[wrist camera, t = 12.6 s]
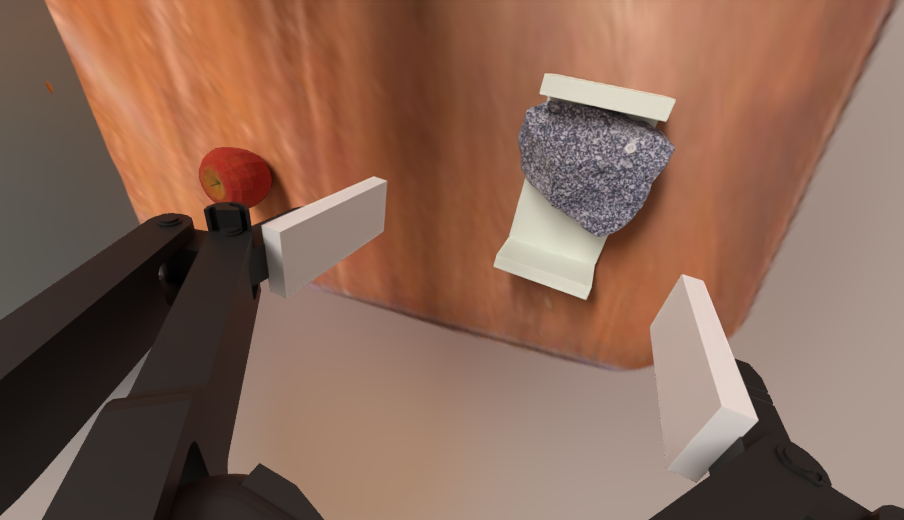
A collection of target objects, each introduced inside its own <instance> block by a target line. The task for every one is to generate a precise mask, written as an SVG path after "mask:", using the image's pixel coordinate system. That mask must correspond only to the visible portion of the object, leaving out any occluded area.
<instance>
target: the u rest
mask: <svg viewBox="0 0 904 520" xmlns="http://www.w3.org/2000/svg"><path fill="white" fill-rule="evenodd" d="M540 94H542V95H546V96H548V98H547V101H563V102H565V103H568V104H573V105H578V106H584V105H589V106H597V107H601V108H606V109H610V110H614V111H619V112H620V113H623V114H625V115H626V116H628V117H629V118H631V119H632V120H635V121H641V120H642V121H645V122H648V123H649V124H650V125H651V126H653V127H654V128H655V127H656V125H657V122H658V120H661V121H665V122H666V121H667V119H668V116H669V114H670V112H671V110H672V108H673V105H674V103H675V101H676V100H675V99H673V98H670V97H668V96H664V95H659V94H654V93H649V92H644V91H639V90H634V89H629V88H624V87H619V86H614V85H609V84H604V83H599V82H594V81H589V80H584V79H579V78H574V77H569V76H564V75H559V74H547V73H545V75H544V79H543V82H542V86H541V90H540ZM607 237H608V236H603V237H597V236H595V235H593V234H591V233H590V232H588V231H587V230H585V229H583V228H582V226H581V225H580V224H579V223H578V222H576V221H575V220H573V219H572V218H570V217H568V216H567V215H565V214H564V213H563V212H561V211H560V210H559V209H556V208H554V207H552V206H551V205H550V203H549V202H548V200H547V199H545V197H544V196H543V195H542V194H541V192H540V191H539V190H538V189H536V188H535V187H534V186H532V185H531V184H530V183H529V182H528V180H527V179H526V177H525V181H524V185H523V188H522V192H521V195H520V199H519V203H518V206H517V210H516V213H515V217H514V221H513V224H512V228H511V231H510V235H509V238H508V239H507V241H506V242H505V243H504V245H503V246H502V248H501V249H500V251H499V252H498V253H497V255H496V259H495V263H494V267H496V268H498V269H501V270H504V271H507V272H510V273H512V274H515V275H518V276H521V277H523V278H526V279H529V280H532V281H535V282H537V283H540V284H543V285H546V286H549V287H551V288H554V289H557V290H560V291H562V292H565V293H568V294H571V295H574V296H576V297H579V298H582V299H585V300H586V299H587V297H588V294H589V292H590V290H591V288H592V281H593V274H594V267H595V264H596V262H597V259H598V257H599V255H600V253H601V250H602V248H603V246H604V243H605V241H606V239H607Z"/></svg>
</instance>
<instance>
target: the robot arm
mask: <svg viewBox="0 0 904 520" xmlns="http://www.w3.org/2000/svg"><path fill="white" fill-rule="evenodd" d="M386 192H387V180H383V179H380V178H377V177H374V176H373V177H371V178H369V179H366V180H364V181H362V182H359V183H357V184H355V185H353V186H350V187H348V188H346V189H343V190H341V191H339V192H336V193H334V194H332V195H330V196H327V197H325V198H323V199H320V200H318V201H316V202H313V203H311V204H309V205H306V206H302V207H297V208H293V209H291V210H288V211H286V212H284V214H283V213H281V214H279V215H277V216H276V217H272V218H270V219H267V220H265V221H262V222H260V223H258V224H255V225H253V226H251V220H250V213H249V207H248V206H246V205H245V204H242V203H238V202H220V203H215V204H212V205H209V206H207V207H206V208H205V209H204V213H205V218H206V222H207V227H208V231H203V230H197V229H194V225H193V221H192V218H191V217H189V216H188V215H183V214H174V213H168V214H162V215H159V216H155V217H153V218H151V219H149V220H147V221H146V222H144V223H143V224H141V225H140V226H138V227H137V228H135V229H134V230H132V231H131V232H129V233H128V234H127V235H125V236H124V237H122V238H121V239H119V240H118V241H116V242H115V243H113V244H112V245H111V246H109V247H107V248H106V249H104V250H103V251H101V252H100V253H99V254H97V255H96V256H94V257H93V258H91V259H90V260H88V261H87V262H85V263H84V264H82V265H81V266H80V267H78V268H77V269H75V270H73V271H72V272H70V273H69V274H68V275H66V276H65V277H63V278H62V279H60V280H59V281H57V282H56V283H54V284H53V285H51V286H50V287H48V288H47V289H45V290H44V291H43V292H41V293H40V294H38V295H37V296H35V297H34V298H32V299H31V300H29V301H28V302H26V303H25V304H23V305H22V306H20V307H19V308H17V309H16V310H15V311H13V312H12V313H10V314H9V315H7V316H6V317H4V318H3V319H1V320H0V515H2V514H3V513H4V512H5V511H6V510H7V509H8V508H9V507H10V506H11V505H12V504H13V503H14V502H15V501H16V500H17V499H19V498H20V496H21V495H22V494H23V493H24V492H25V491H26V490H27V489H28V488H29V487H30V486H31V485H32V484H33V483H34V481H35V480H36V479H37V478H38V477H39V476H40V475H41V474H42V473H43V472H44V471H45V469H46V468H47V467H48V466H49V464H51V462H52V461H53V460H54V459H55V458H56V457H57V455H58V454H59V453H60V452H61V451H62V450H63V449H64V447H65V446H66V445H67V444H68V443H69V442H70V441H71V439H72V438H73V437H74V436H75V435H76V434H77V432H78V431H79V430H80V429H81V428H82V427H83V426H84V424H85V423H86V422H87V421H88V420H89V419H90V417H91V416H92V415H93V414H94V413H95V412H96V410H97V409H98V408H99V407H100V406H101V405H102V403H103V402H104V401H105V400H106V399H107V398H108V397H109V396H110V394H111V393H112V392H113V391H114V390H115V389H116V387H117V386H118V385H119V384H120V383H121V382H122V381H123V379H124V378H125V377H126V376H127V375H128V374H129V372H130V371H131V370H132V369H133V367H135V365H136V364H137V363H138V362H139V361H140V360H141V358H142V357H143V356H144V355H145V354H146V353H147V352H148V351H149V349H150V348H151V347H152V348H151V350H150V352H149V354H148V356H147V358H146V360H145V362H144V365H143V366H142V368H141V371H140V373H139V375H138V377H137V379H136V381H135V383H134V385H133V387H132V389H131V391H130V393H129V394H128V396H127V397H126V398H119V399H113V400H111V401H110V402H108V403H106V405H105V406H104V407H103V409H102V410H101V412H100V413H99V415H98V417H97V419H96V421H95V423H94V424H93V426H92V428H91V430H90V432H89V433H88V435H87V437H86V439H85V441H84V443H83V444H82V446H81V448H80V450H79V452H78V454H77V456H76V457H75V459H74V461H73V463H72V465H71V467H70V469H69V470H68V472H67V474H66V476H65V478H64V480H63V482H62V483H61V485H60V487H59V489H58V491H57V493H56V495H55V496H54V498H53V500H52V502H51V504H50V506H49V508H48V509H47V511H46V513H45V515H44V517H43V518H42V520H324V519H323V518H322V517H321V515H320V514H319V513H318V512H317V510H316V509H315V508H314V507H313V505H312V504H311V503H310V502H309V501H308V499H307V498H306V497H305V496H304V494H303V493H302V492H301V491H300V489H299V488H298V487H297V486H296V485H295V484H293V483H292V482H290V481H288V480H286V479H285V478H283V477H282V476H280V475H278V474H277V473H275V472H273V471H272V470H270V469H269V468H267V467H265V466H264V465H262V464H260V463H259V464H258V465H257V466H256V468H255V469H254V470H253V471H252V472H251V473H250V474H249V475H246V474H228V468H227V467H228V466H227V465H228V455H229V450H230V444H231V440H232V435H233V429H234V424H235V419H236V414H237V409H238V404H239V399H240V394H241V389H242V383H243V379H244V374H245V369H246V364H247V359H248V354H249V349H250V344H251V338H252V333H253V328H254V324H255V319H256V313H257V309H258V303H259V298H260V293H261V287H260V282H262V281H264V280H266V279H267V278H268V280H269V287H270V291H271V292H273V293H275V294H278V295H280V296H282V297H284V298H288V297H289V296H291V295H292V294H293V293H295V292H296V291H298V290H299V289H301V288H302V287H304V286H305V285H307V284H308V283H310V282H311V281H312V280H314V279H315V278H317V277H318V276H320V275H321V274H323V273H324V272H326V271H327V270H329V269H330V268H331V267H333V266H334V265H336V264H337V263H339V262H340V261H342V260H343V259H345V258H346V257H347V256H349V255H350V254H352V253H353V252H355V251H356V250H358V249H359V248H361V247H362V246H363V245H365V244H366V243H368V242H369V241H371V240H372V239H374V238H375V237H377V236H378V235H379V234H381V233H382V232H384V221H385V207H386ZM159 271H160V274H161V275H160V276H159V274H158V273H159ZM650 333H651V342H652V350H653V359H654V367H655V376H656V384H657V393H658V402H659V410H660V419H661V427H662V436H663V445H664V453H665V462H666V469H668V470H670V471H672V472H674V473H676V474H679V475H681V476H683V477H685V478H688V479H690V480H692V481H694V482H698V481H699V480H700V478H701V477H703V475H705V474H706V473H707V471H709V473H710V476H709V477H708V478H706V479H705V480H703V481H702V482H700V483H699V484H698V485H697V486H695V487H694V488H692V489H691V490H689V491H688V492H687V493H685V494H684V495H682V496H681V497H680V498H678V499H677V500H676V501H674V502H673V503H671V504H670V505H669V506H667V507H666V508H664V509H663V510H662V511H660V512H659V513H657V514H656V515H655V516H653V517H652V518H650V519H649V520H904V509H903V508H900V507H897V506H894V505H884V506H881V507H880V508H878V509H876V510H875V511H874V512H871V511H869V510H867V509H866V508H864V507H863V506H861V505H859V504H858V503H856V502H855V501H853V500H851V499H850V498H848V497H846V496H845V495H843V494H842V493H840V492H838V491H837V490H835V489H834V488H832V487H831V485H832V484H831V482H830V479H829V477H828V474H827V473H826V471H825V470H824V469H823V468H822V466H821V465H820V464H819V463H818V462H817V461H816V460H815V459H814V458H813V457H812V456H811V455H810V454H809V453H808V452H806V451H805V450H803V449H802V448H800V447H799V446H798V445H796V444H794V443H793V442H791V441H790V439H789V437H788V434H787V432H786V430H785V428H784V425H783V423H782V421H781V419H780V417H779V415H778V413H777V411H776V408H775V406H773V402H772V399H771V397H770V395H769V394H767V393H768V391H767V389H766V386H765V385H764V382H763V380H762V378H761V377H760V376H759V375H758V373H757V372H756V371H755V370H754V369H753V368H752V367H751V366H750V364H748V363H745V362H743V361H740V360H737V359H734V357H733V355H732V352H731V350H730V347H729V344H728V342H727V339H726V337H725V334H724V332H723V329H722V327H721V324H720V322H719V319H718V317H717V314H716V312H715V309H714V306H713V304H712V301H711V299H710V296H709V294H708V291H707V289H706V286H705V284H704V281H702V280H699V279H696V278H693V277H689V276H686V275H683V274H682V275H681V276H680V278H679V280H678V281H677V283H676V285H675V286H674V288H673V290H672V291H671V293H670V295H669V296H668V298H667V299H666V301H665V303H664V304H663V306H662V308H661V309H660V311H659V313H658V314H657V316H656V318H655V319H654V321H653V323H652V324H651V326H650Z"/></svg>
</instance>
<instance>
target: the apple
mask: <svg viewBox="0 0 904 520" xmlns="http://www.w3.org/2000/svg"><path fill="white" fill-rule="evenodd" d="M199 179H200V182H201V185H202V187H203V189H204V191H205V193H206V194H207V196H208V197H209V198H210V199H211V200H212V201H213V202H215V203H220V202H238V203H242V204H245V205H246V206H248V207H249V208H251V207H253V206H255V205H257V204H258V203H259V202H261V201H262V200H263V199H264V198H265V197H266V195H267V193H268V192H269V190H270V188H271V186H272V177H271V173H270V170H269V168H268V166H267V164H266V162H265V161H264V160H263V159H262V158H261V157H260V156H258V155H256V154H254V153H252V152H250V151H247V150H244V149H239V148H232V147H221V148H215V149H214V150H212V151H210V152H209V153H208V154H207V155H206V156H205V157H204V158H203V160H202V163H201V165H200V168H199Z"/></svg>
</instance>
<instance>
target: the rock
mask: <svg viewBox="0 0 904 520" xmlns="http://www.w3.org/2000/svg"><path fill="white" fill-rule="evenodd" d="M518 142H519V148H520V151H521V158H522V160H521V169H522V170H523V173H524V174H525V176H526V179H527V180H528V182H529V183H530V184H531V185H532V186H534V187H535V188H536V189H538V190H539V191H540V192H541V194H542V195H543V196H544V197H545V199H547V200H548V202H549V203H550V205H551V206H552V207H554V208H556V209H559V210H560V211H561V212H563V213H564V214H565V215H567V216H568V217H570V218H572V219H573V220H575V221H576V222H578V223H579V224H580V225H581V226H582V228H583V229H585V230H587V231H588V232H590V233H591V234H593V235H595V236H597V237H603V236H608V235H609V234H612V233H614V232H616V231H618V230H619V229H621V228H622V227H624V226H625V225H626V224H627V223H629V222H630V220H631V219H633V218H634V216H635V215H636V214H637V212H638V211H639V210H640V209H641V208H642V206H643V204H644V202H645V200H646V199H647V197H648V194H649V192H650V191H651V185H652V183H653V181H654V180H655V178H656V177H657V176H658V175H659V174H660V173H661V172H662V170H663V169H664V168H665V167H666V165H667V164H668V162H669V159H670V156H671V154H672V153H673V151H674V150H675V147H674V145H673V144H672V143H670V141H669V139H667V138H666V137H665V135H664V133H663V132H662V131H661V130H659V129H657V128H654V127H653V126H651V125H650V124H649V123H648V122H645V121H642V120H641V121H635V120H632V119H631V118H629V117H628V116H626V115H625V114H623V113H620V112H619V111H614V110H610V109H606V108H601V107H597V106H589V105H584V106H578V105H573V104H568V103H565V102H563V101H546V102H543V103H541V104H539V105H538V106H535V107H532V108H529V109H528V110H527V112H526V114H525V118H524V123H523V124H522V127H521V130H520V133H519V136H518Z"/></svg>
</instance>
